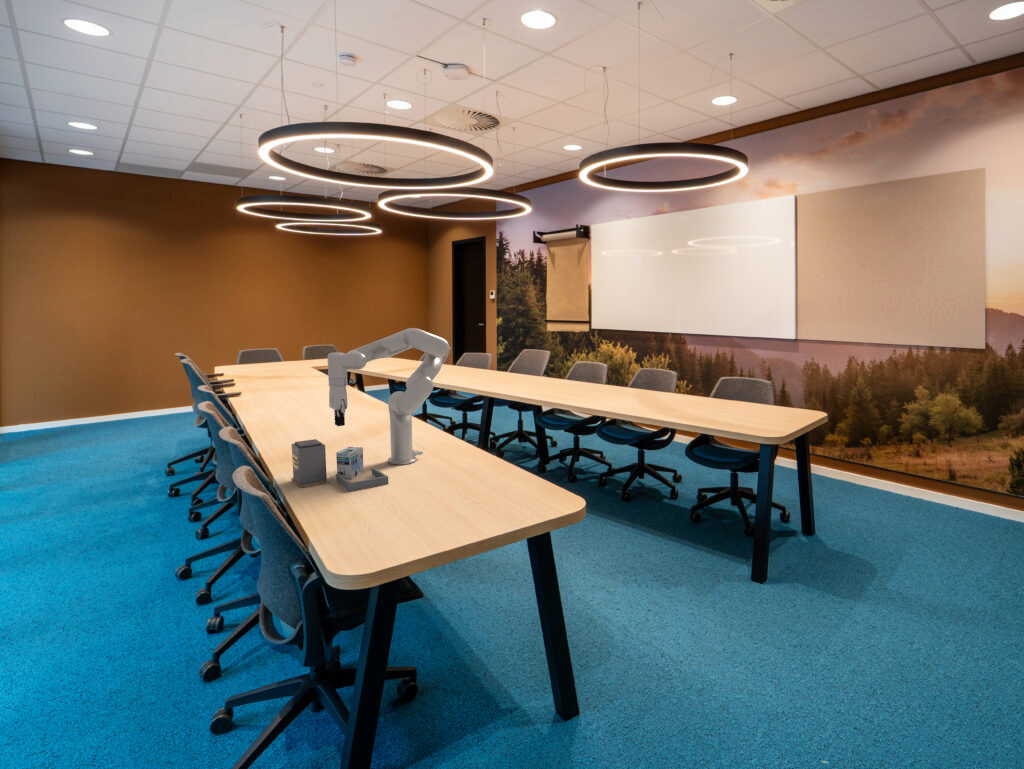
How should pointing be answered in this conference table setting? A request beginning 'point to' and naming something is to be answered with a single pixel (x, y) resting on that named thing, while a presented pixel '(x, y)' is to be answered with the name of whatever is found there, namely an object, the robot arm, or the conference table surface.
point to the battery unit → (309, 463)
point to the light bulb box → (350, 462)
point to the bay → (364, 481)
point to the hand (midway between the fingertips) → (339, 425)
